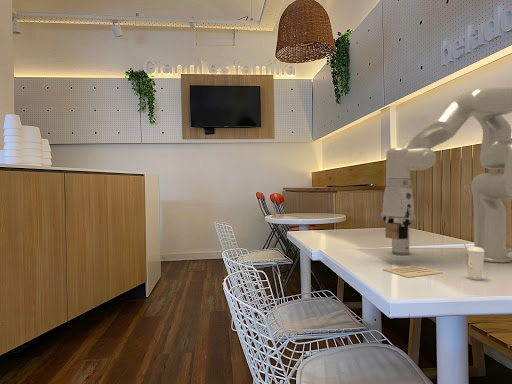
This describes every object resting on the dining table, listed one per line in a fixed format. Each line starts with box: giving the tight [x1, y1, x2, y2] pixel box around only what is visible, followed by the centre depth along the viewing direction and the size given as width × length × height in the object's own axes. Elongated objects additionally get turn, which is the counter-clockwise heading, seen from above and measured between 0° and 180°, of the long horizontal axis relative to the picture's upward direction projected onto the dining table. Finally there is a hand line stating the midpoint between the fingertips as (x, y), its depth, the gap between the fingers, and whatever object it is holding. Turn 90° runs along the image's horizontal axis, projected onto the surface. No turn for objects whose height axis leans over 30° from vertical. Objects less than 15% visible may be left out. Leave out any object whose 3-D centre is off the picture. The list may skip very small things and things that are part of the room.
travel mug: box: [391, 217, 410, 256], centre depth 133 cm, size 6×7×20 cm
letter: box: [382, 265, 444, 279], centre depth 104 cm, size 14×10×1 cm
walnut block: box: [385, 223, 408, 240], centre depth 115 cm, size 5×5×5 cm
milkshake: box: [463, 243, 485, 281], centre depth 96 cm, size 4×5×10 cm
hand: (396, 236), depth 115 cm, fingers closed on walnut block, 5 cm apart
